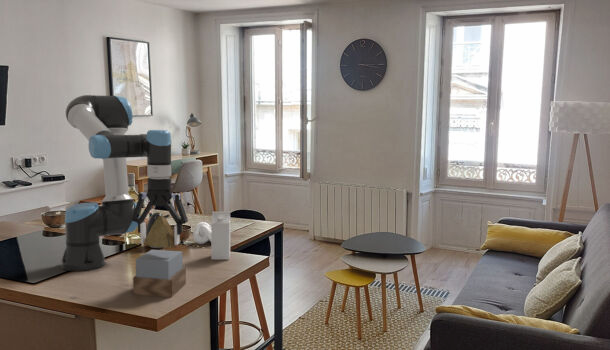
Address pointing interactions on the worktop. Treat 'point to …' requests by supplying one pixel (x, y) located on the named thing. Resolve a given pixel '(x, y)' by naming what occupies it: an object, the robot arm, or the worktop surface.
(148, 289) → the bottom block
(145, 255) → the top block
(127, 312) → the worktop surface
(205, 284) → the worktop surface
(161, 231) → the rock
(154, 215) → the pump dispenser
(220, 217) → the milk carton
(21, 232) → the worktop surface
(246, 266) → the worktop surface
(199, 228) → the white spiral shell
